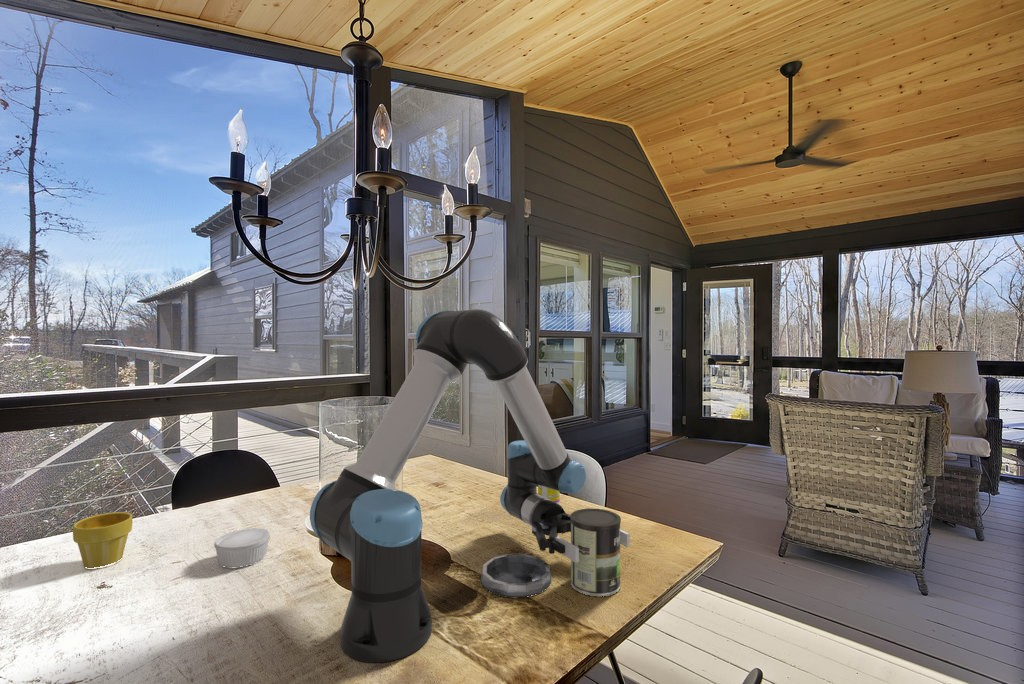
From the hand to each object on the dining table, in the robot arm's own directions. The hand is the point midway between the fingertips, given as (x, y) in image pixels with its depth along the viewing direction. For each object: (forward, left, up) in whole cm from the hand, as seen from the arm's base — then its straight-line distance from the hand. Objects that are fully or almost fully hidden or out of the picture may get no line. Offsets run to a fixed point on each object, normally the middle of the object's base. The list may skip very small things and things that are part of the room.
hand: (603, 547), depth 100 cm
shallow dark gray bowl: (-13, +12, -8) cm, 20 cm away
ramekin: (-62, +52, -9) cm, 82 cm away
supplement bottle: (+20, +47, -9) cm, 52 cm away
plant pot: (-89, +66, -9) cm, 112 cm away
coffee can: (0, +2, -9) cm, 9 cm away
